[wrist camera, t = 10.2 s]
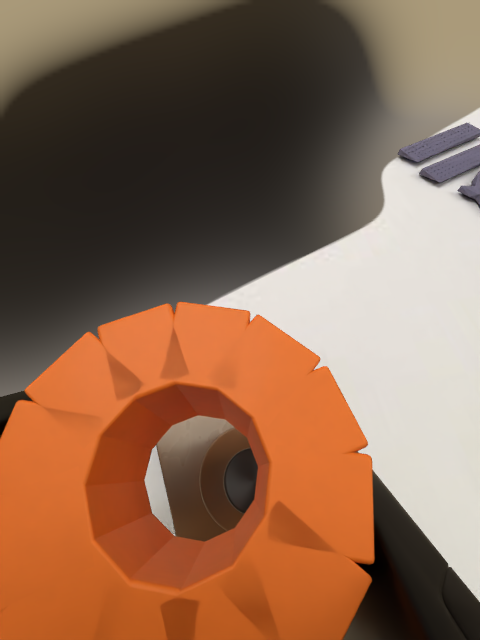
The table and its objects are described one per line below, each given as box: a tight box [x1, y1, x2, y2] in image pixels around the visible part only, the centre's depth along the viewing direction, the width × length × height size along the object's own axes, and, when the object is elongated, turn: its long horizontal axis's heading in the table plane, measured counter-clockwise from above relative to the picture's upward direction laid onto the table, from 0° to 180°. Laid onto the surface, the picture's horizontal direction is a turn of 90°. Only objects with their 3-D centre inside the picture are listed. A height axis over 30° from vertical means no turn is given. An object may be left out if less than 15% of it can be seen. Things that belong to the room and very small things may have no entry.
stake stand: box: [156, 415, 258, 542], centre depth 16 cm, size 10×10×12 cm
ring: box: [0, 302, 375, 640], centre depth 8 cm, size 7×7×4 cm
